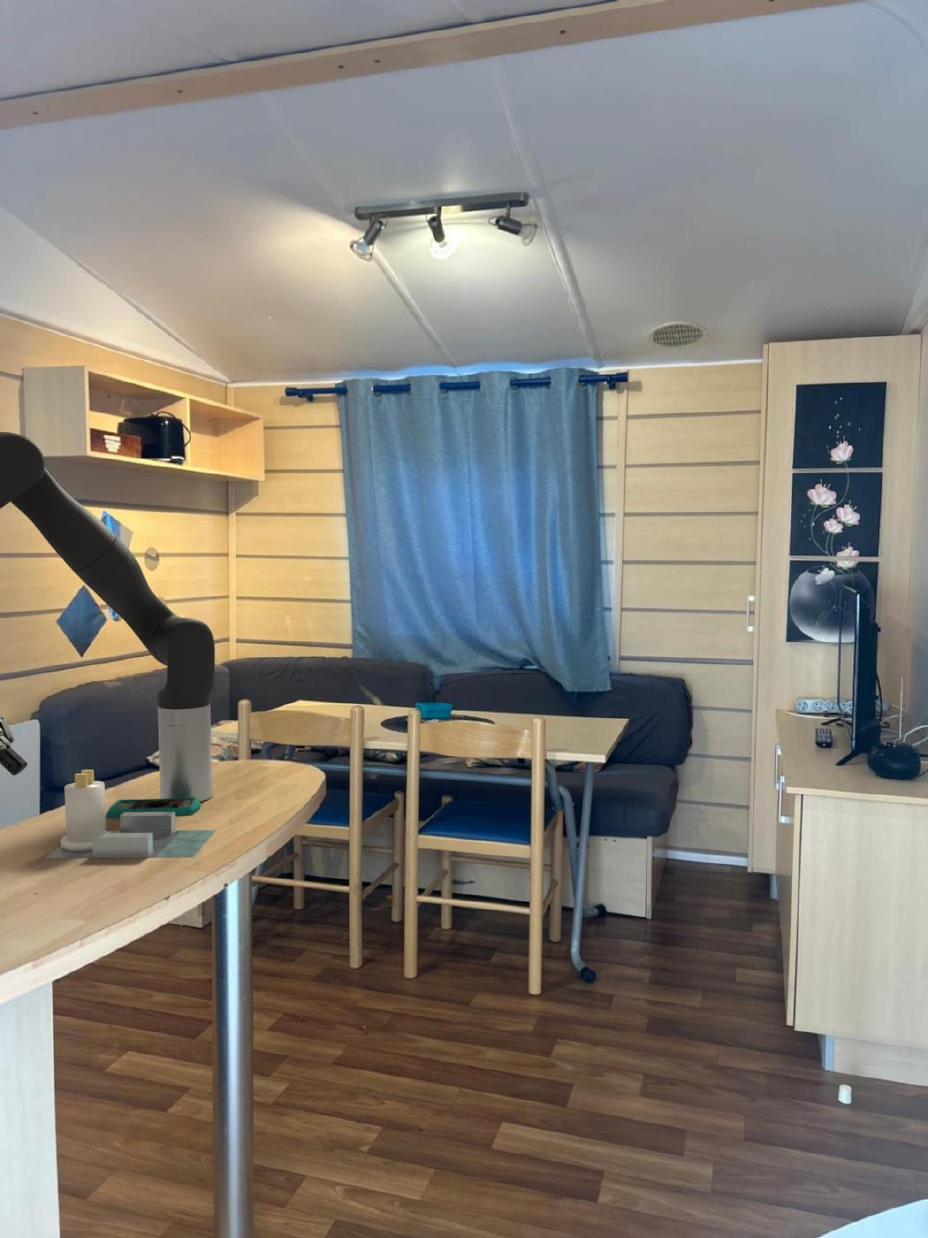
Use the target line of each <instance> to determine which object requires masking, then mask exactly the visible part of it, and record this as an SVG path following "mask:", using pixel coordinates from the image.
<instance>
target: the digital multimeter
mask: <svg viewBox="0 0 928 1238" xmlns="http://www.w3.org/2000/svg"><path fill="white" fill-rule="evenodd" d="M201 806H202V805H201V801H200V800H199V799H198V798H196V797H188V798H168V799H160V798H146V799H145V798H144V799H143V798H142V799H137V798H136V799H135V798H134V799H118V800H116V801H115V802H114V803H113V804H112V805H110V807H109V808H108V809H107V812H106V819H120V815H122V814H123V813H124V812H175V816H193V815H195V814H196V813H198V812H199V811H200V810H201Z"/></svg>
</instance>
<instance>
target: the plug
mask: <svg viewBox="0 0 928 1238" xmlns="http://www.w3.org/2000/svg"><path fill="white" fill-rule="evenodd" d="M94 773H95V772H94V769H81V772H80V773H75V774H74V782H72V783H68V784H66V785H65V786H64V805H65V806H64V808H65V809H64V810H65V811H64V812H65V836H62V838H60V846H61V848H62V849H64V850H67V851H88V850H93V841H92V837H93V836H95V835H96V834H97V833H110V832H108V831H109V830H107V812H106V787H105V786H106V785H105V782H104V781H101V780H95V774H94Z"/></svg>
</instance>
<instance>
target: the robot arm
mask: <svg viewBox="0 0 928 1238" xmlns="http://www.w3.org/2000/svg"><path fill="white" fill-rule="evenodd" d="M45 465H46V462H45V456H44V453H43V451H42V449H41V448H40V447H39V445H38V444H37V443H36V442H34V441H33V440H32V439H30V438H28V437H26V436H24V435H23V434H22V435H21V434H19V433H14V432H11V431H10V432H8V431H0V510H1V509H2V508H4V507H6V505H8V504H10V503H11V504H12V505H13V506H15V508H17V509H18V510H19V511H20V512H21V513H22V514H24V516H25V517H26V518H27V519H29V521H30V522H31V523H32V525H34V527H35V528H36V529H37V530H38V531H39V532H40V534H41V535H42V536H43V538H44V539H45V541H46V542H47V543H48V544H49V545H50V547H52V549H53V551H55V553H56V554H57V555H58V556H59V557H60V558H61V559H62V560H63V562H64V563H65V564H66V565H67V566H68V567H69V568H70V569H71V570H72V571H73V573H74V574H75V575H77V577H78V578H79V579H80V580H81V581H82V583H84V584H85V585H86V586H87V587H88V588H89V589H91V590H92V591H93V592H94V593H95V594H96V596H98V597H99V598H100V600H102V601H103V602H104V603H105V604H106V605H107V606H108V607H109V608H110V609H111V610H112V611H113V612H114V613H116V614H117V616H119V617H120V618H121V619H122V620H123V621H124V622H125V623H126V624H127V626H128V627H129V628H130V629H131V630H132V632H133V633H134V634H135V635H136V637H137V638H138V639H139V641H140V642H141V643H142V645H143V646H144V648H146V650H147V651H148V653H149V654H150V655H151V656H152V658H154V659H155V660H156V661H157V662H158V663H160V664H161V665H164V666H167V667H166V669H167V670H166V671H167V672H166V673H167V674H166V683H165V685H164V687H163V688H161V689H160V690H159V691H158V692H157V718H158V719H157V721H158V752H159V753H158V757H159V758H158V759H159V794H160V795H159V796H160V798H159V799H168V798H188V797H196V798H198V799H199V800H200V802H203V801H206V800H209V799H210V798H212V797H213V762H212V761H213V760H212V754H213V753H212V723H211V722H212V721H211V719H212V718H211V695H212V693H213V689H214V685H215V674H216V673H215V671H216V665H215V664H216V663H215V662H216V646H215V638H214V635H213V632H212V630H211V629H210V627H209V626H208V624H206V623H205V622H204V621H202V620H199V619H195V618H191V617H190V618H189V617H180V616H178V615H177V614H176V613H175V612H174V611H172V610H171V609H170V608H169V607H168V606H167V605H166V604H165V603H164V602H163V601H161V600H160V599H159V598H158V597H157V595H156V594H155V593H154V592H153V590H152V589H151V586H149V584H148V581H147V579H146V578H145V575H144V572H143V569H142V567H141V565H140V564H139V562H138V560H137V558H136V557H135V555H134V554H133V553H132V551H131V550H130V549H129V548H128V546H126V545H125V543H124V542H123V541H122V540H121V539H120V538H119V537H118V536H117V535H116V534H115V533H114V532H113V531H112V530H111V529H110V528H109V527H108V526H107V525H106V524H105V523H104V522H102V521H101V520H100V519H99V518H98V517H97V516H96V515H94V514H93V513H92V512H91V511H90V510H88V509H87V508H86V507H84V506H83V505H82V504H81V503H79V502H78V501H77V500H76V499H75V498H73V497H72V496H71V495H69V494H68V493H67V492H66V491H65V490H64V489H63V488H62V487H61V486H60V484H59V483H58V482H57V481H56V480H55V479H54V477H53V476H52V475H51V474H50V473H49V471H48V470H47V469H46V468H45V467H46V466H45ZM14 741H15V738H14V735H13V733H12V731H11V729H10V726H9V724H8V721H7V719H6V717H5V716H3V715H1V714H0V765H1V766H2V767H3V768H5V770H7V771H8V773H9V774H11V776H17V775H19V774H21V773H22V772H23V771H24V770H25V769H26V768H27V767H28V763H27V762H28V761H26V760H25V759H24V758H23V757H22V756H21V755H20V754H19V753H17V752H16V751H15V749H13V748H12V746H13V744H12V743H14Z"/></svg>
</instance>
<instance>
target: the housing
mask: <svg viewBox="0 0 928 1238" xmlns="http://www.w3.org/2000/svg"><path fill="white" fill-rule="evenodd" d="M107 831H108V832H110V833H97V834H96V835H95V836H93V837H92V841H93V850H88V851H67V850H64V849H62V848H61V845H60V846H59V847H57V848H56V849H55V850H53V851H52V852H51V853H50V854H48V855H47V856H45V857H44V859H122V858H123V859H128V858H129V859H130V858H131V859H132V858H133V859H135V858H137V859H138V858H139V859H140V858H142V859H144V858H145V859H146V858H147V859H149V858H194V857H195V856H196V855H198V853H199V852H200V850H201V849H202V848H203V847H204V845H206V843H207V842H208V841H209V840H210V839H211V838H212V836H214V834H215V833H216V832H217V830H216V829H202V830H201V829H198V830H197V829H195V830H194V829H191V830H190V829H187V830H182V829H181V830H179V829H178V830H177V829H176V815H175V812H124V813H123V814H122V815H120V818H119V830H107Z"/></svg>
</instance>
